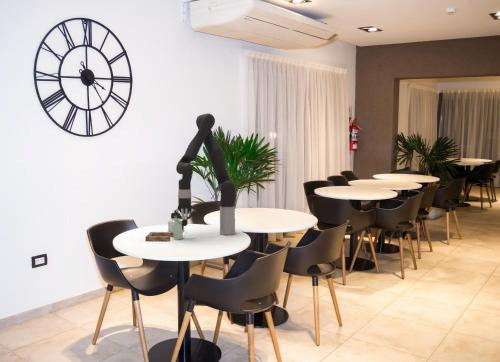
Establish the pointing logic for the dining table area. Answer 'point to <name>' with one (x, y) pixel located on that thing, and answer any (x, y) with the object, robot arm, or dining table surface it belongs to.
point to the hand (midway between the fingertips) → (185, 225)
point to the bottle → (177, 229)
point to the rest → (159, 236)
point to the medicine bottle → (173, 222)
